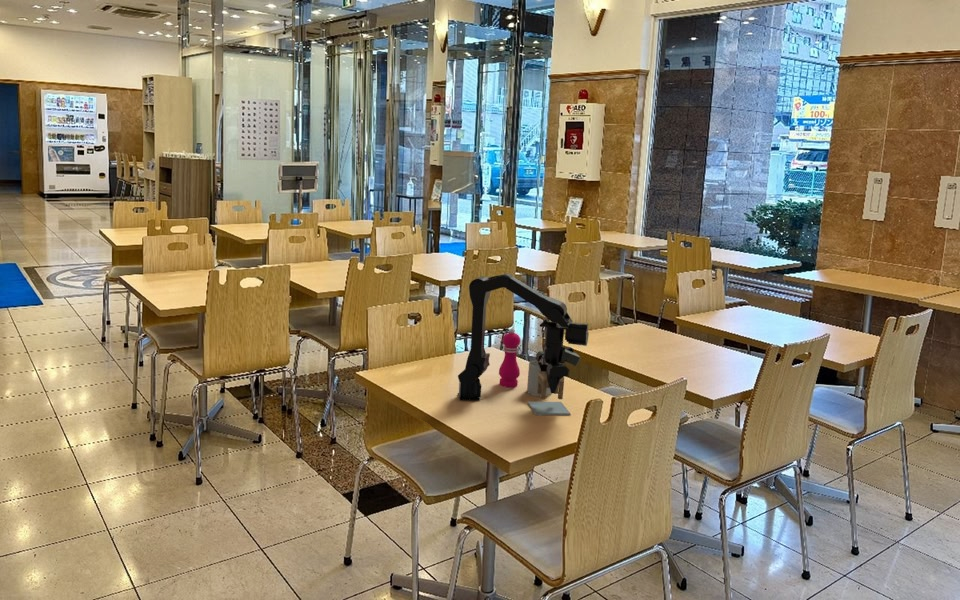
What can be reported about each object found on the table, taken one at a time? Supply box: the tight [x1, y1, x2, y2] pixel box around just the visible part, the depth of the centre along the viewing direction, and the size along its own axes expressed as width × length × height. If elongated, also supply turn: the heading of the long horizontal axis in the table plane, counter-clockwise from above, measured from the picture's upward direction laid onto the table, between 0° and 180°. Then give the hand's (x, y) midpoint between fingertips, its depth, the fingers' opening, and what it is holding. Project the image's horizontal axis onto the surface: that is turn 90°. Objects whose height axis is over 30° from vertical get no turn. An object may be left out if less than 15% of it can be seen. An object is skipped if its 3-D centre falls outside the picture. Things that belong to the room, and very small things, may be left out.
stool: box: [537, 371, 565, 400], centre depth 243 cm, size 7×7×7 cm
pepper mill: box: [498, 328, 521, 388], centre depth 266 cm, size 7×7×20 cm
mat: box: [527, 401, 571, 416], centre depth 245 cm, size 11×11×1 cm
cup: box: [526, 359, 552, 397], centre depth 261 cm, size 8×8×10 cm
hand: (550, 389), depth 244 cm, fingers closed on stool, 6 cm apart
